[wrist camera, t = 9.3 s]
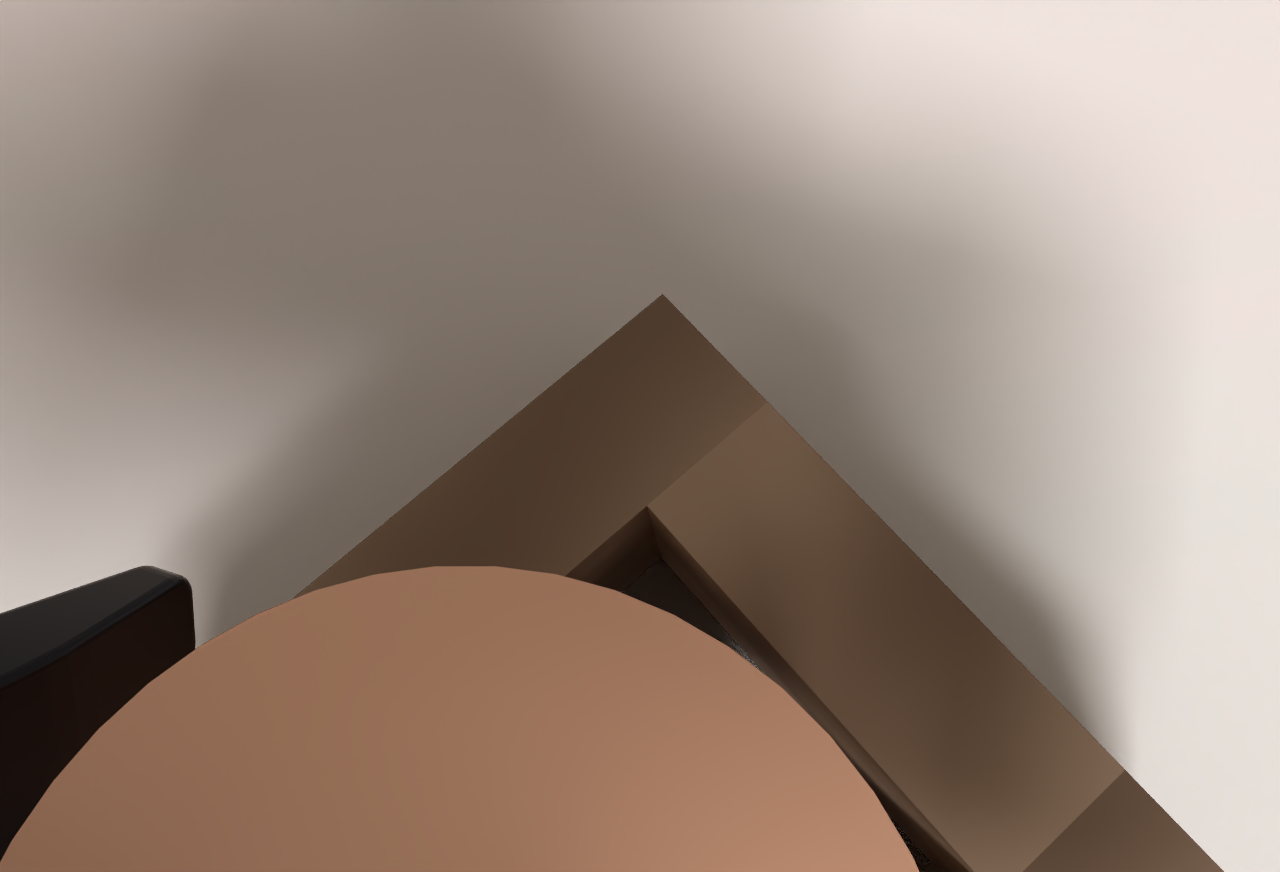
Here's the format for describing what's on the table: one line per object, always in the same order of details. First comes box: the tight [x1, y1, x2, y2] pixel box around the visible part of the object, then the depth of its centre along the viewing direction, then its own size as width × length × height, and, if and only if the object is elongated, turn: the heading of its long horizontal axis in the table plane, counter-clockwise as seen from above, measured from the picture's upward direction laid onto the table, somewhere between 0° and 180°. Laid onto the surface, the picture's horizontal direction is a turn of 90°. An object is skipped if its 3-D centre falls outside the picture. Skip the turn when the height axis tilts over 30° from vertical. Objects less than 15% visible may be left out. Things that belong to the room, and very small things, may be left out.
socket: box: [292, 294, 1224, 872], centre depth 15 cm, size 11×11×4 cm
